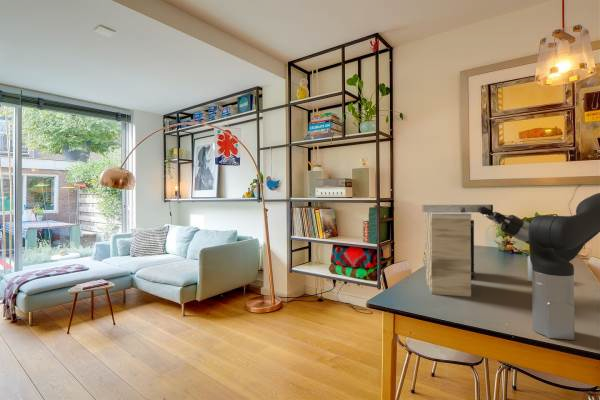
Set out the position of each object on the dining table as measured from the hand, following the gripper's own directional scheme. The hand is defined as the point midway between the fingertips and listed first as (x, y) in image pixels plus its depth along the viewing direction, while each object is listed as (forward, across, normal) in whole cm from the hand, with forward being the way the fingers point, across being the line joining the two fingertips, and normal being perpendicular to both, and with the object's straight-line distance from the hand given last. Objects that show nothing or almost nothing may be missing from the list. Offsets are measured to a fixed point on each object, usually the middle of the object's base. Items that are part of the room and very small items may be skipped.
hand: (478, 208), depth 129 cm
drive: (+6, 0, +6) cm, 9 cm away
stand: (-6, 0, +35) cm, 36 cm away
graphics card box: (-14, -25, +31) cm, 42 cm away
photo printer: (-42, -21, +15) cm, 49 cm away
